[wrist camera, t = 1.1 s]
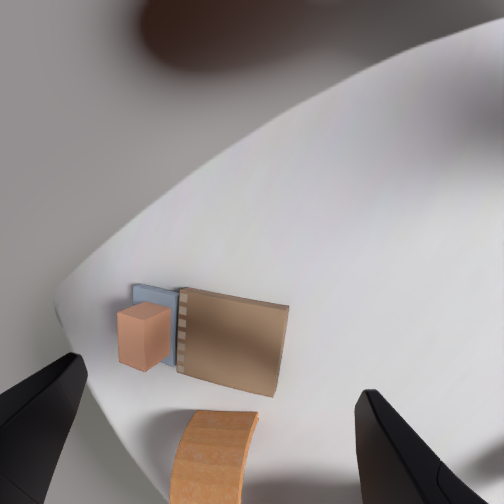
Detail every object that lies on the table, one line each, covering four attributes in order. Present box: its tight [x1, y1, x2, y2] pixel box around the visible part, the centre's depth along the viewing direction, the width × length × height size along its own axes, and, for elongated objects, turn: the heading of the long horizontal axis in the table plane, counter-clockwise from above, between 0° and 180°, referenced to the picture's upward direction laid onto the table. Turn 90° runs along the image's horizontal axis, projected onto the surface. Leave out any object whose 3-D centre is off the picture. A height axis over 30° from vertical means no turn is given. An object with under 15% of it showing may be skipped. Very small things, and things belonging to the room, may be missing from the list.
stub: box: [117, 284, 179, 372], centre depth 22 cm, size 6×4×5 cm, turn 174°
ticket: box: [177, 287, 289, 398], centre depth 22 cm, size 7×8×1 cm
